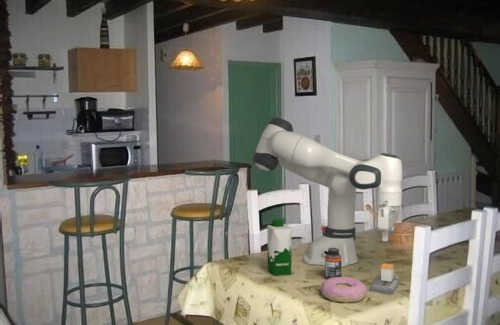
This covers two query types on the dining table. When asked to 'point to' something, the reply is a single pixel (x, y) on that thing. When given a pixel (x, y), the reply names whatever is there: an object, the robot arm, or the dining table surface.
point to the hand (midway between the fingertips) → (388, 237)
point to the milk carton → (279, 248)
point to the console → (384, 285)
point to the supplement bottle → (332, 263)
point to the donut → (343, 289)
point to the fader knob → (387, 272)
